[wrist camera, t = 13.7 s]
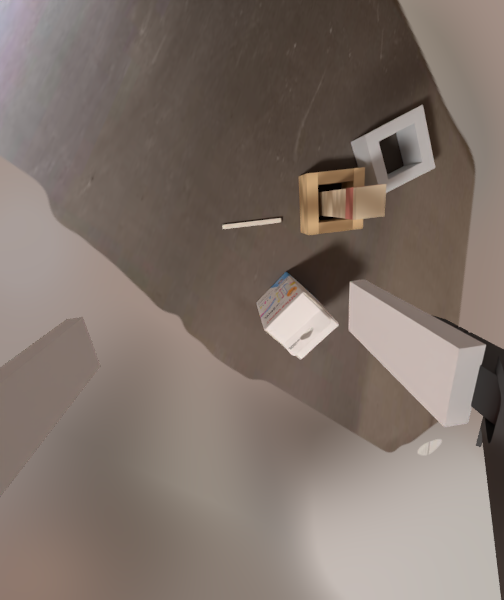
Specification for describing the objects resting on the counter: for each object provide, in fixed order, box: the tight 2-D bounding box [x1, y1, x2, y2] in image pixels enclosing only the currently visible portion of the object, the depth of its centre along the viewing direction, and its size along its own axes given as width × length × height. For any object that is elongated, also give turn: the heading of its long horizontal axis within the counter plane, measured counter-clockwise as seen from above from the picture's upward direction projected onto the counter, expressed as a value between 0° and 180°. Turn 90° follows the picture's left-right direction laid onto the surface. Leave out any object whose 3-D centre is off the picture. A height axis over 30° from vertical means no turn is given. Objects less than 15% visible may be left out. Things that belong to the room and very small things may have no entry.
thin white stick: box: [222, 218, 281, 229], centre depth 45 cm, size 1×10×1 cm, turn 97°
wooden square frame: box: [299, 167, 365, 235], centre depth 43 cm, size 9×9×4 cm
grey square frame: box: [351, 105, 435, 193], centre depth 42 cm, size 9×9×4 cm
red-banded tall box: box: [318, 184, 386, 220], centre depth 38 cm, size 4×4×15 cm
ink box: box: [256, 272, 339, 359], centre depth 45 cm, size 9×8×13 cm
